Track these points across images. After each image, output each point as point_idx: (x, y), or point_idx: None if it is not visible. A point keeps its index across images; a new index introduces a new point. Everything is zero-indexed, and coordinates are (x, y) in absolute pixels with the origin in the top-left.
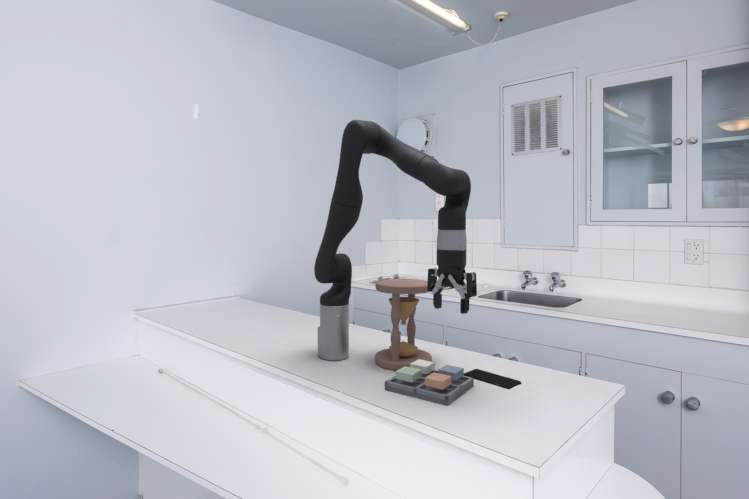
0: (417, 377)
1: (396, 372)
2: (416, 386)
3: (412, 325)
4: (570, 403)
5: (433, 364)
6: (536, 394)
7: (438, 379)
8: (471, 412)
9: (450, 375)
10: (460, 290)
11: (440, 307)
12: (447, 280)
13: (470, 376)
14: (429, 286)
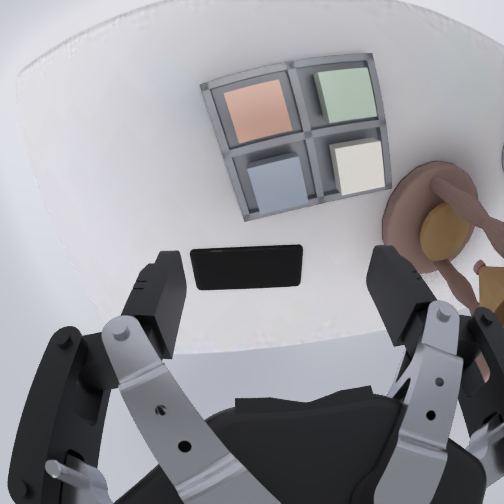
0: (320, 99)
1: (363, 68)
2: (313, 94)
3: (462, 292)
4: (101, 269)
5: (340, 188)
6: (147, 264)
7: (243, 96)
8: (149, 102)
9: (262, 162)
10: (131, 375)
11: (368, 276)
12: (331, 464)
13: (281, 247)
14: (491, 334)
